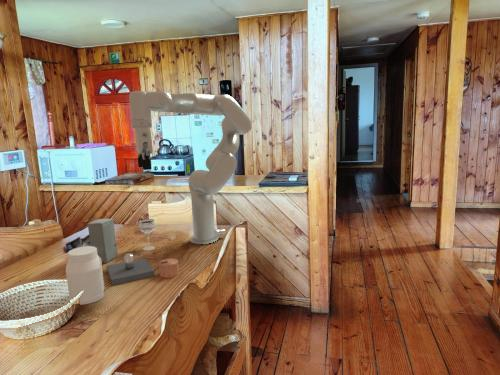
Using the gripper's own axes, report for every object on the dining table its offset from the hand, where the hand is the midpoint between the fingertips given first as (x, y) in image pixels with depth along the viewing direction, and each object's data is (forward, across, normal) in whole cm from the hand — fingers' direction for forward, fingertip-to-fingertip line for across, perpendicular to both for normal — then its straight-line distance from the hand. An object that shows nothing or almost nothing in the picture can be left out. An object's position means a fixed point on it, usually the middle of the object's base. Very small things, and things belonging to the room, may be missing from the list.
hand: (144, 168), depth 149 cm
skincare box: (+35, +2, +18) cm, 39 cm away
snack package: (+36, +22, +26) cm, 50 cm away
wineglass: (+35, +6, 0) cm, 36 cm away
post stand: (+35, -18, +11) cm, 41 cm away
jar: (+36, -29, +26) cm, 52 cm away
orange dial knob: (+35, -25, -1) cm, 43 cm away
